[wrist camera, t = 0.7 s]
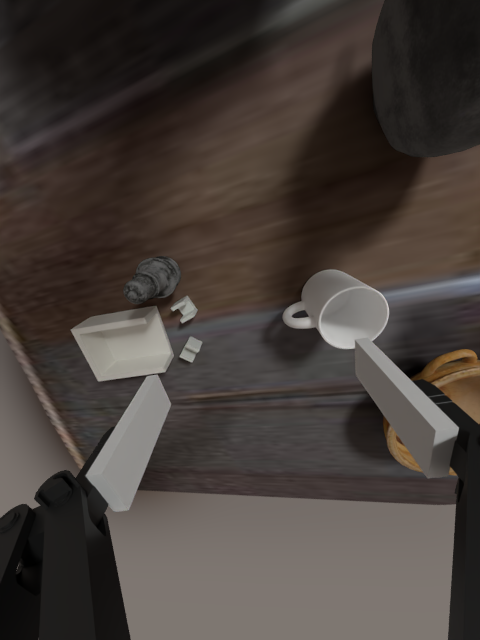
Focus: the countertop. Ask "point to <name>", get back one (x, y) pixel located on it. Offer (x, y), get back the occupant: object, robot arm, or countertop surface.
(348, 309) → the mug
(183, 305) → the clip
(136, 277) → the grey tapered rounded piece
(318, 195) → the countertop surface
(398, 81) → the pitcher
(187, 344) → the clip
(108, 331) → the end holder
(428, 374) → the ceramic bowl
